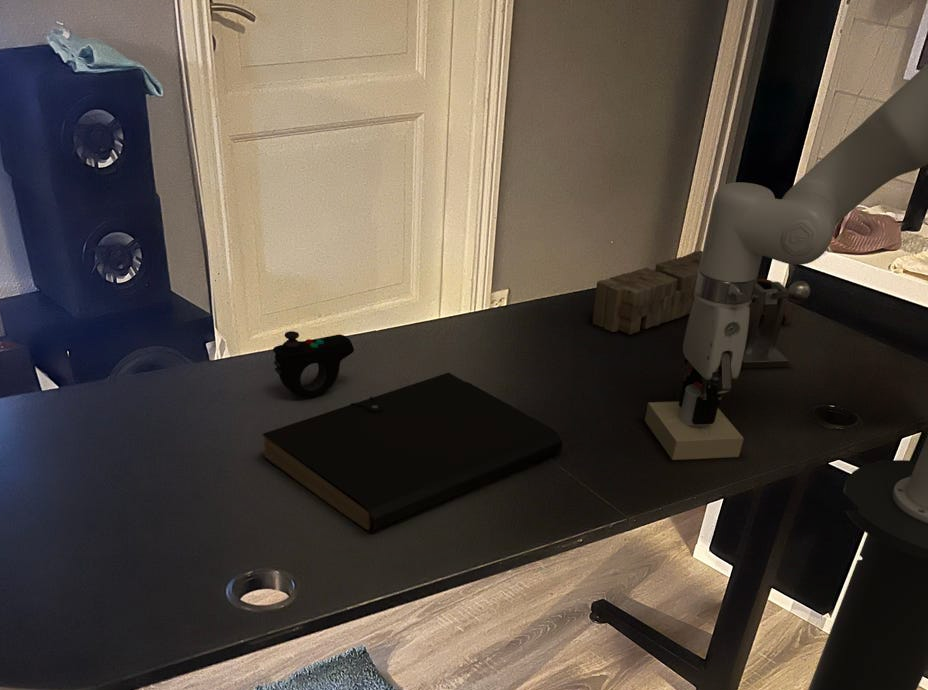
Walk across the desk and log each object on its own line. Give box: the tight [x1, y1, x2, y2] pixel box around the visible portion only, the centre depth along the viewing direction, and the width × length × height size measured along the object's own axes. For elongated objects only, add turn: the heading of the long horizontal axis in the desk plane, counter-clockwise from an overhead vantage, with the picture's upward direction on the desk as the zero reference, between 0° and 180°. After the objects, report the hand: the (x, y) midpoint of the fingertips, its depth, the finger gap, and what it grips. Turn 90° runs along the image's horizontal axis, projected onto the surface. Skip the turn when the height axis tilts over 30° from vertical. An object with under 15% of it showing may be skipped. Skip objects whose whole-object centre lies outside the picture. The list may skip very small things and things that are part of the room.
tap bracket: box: [741, 281, 789, 369], centre depth 162 cm, size 10×8×12 cm
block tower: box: [592, 250, 703, 336], centre depth 177 cm, size 8×8×29 cm
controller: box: [272, 330, 355, 399], centre depth 144 cm, size 4×12×10 cm, turn 124°
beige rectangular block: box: [644, 400, 745, 461], centre depth 140 cm, size 12×10×3 cm
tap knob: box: [680, 382, 712, 426], centre depth 138 cm, size 4×4×5 cm
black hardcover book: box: [262, 372, 563, 532], centre depth 132 cm, size 33×4×24 cm
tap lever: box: [764, 280, 811, 306], centre depth 155 cm, size 13×3×3 cm, turn 10°
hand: (696, 413), depth 139 cm, fingers closed on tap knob, 4 cm apart
